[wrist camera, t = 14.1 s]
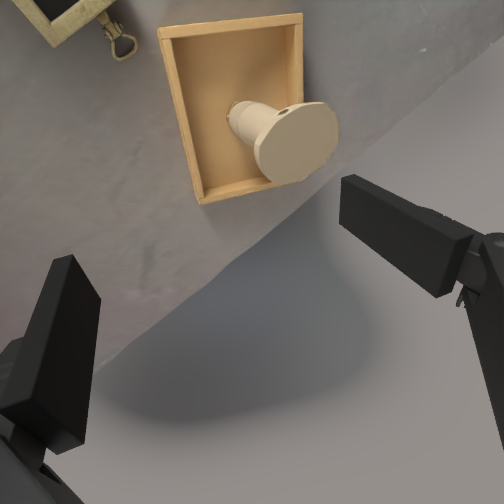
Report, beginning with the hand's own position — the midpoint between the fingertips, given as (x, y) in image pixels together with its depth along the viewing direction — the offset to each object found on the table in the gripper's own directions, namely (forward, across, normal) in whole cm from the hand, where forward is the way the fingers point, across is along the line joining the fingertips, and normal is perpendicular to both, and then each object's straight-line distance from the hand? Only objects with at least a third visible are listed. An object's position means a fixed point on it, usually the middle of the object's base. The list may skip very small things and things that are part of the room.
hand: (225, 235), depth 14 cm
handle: (+22, +8, +1) cm, 24 cm away
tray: (+23, +8, +1) cm, 24 cm away
